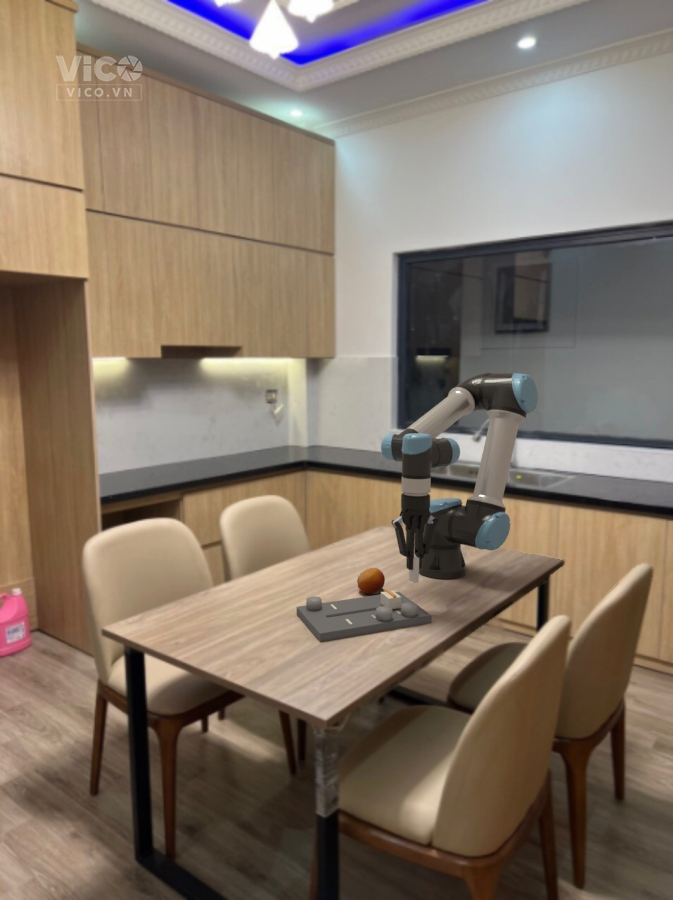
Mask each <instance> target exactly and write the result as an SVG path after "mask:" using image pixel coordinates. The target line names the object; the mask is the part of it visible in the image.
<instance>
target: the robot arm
mask: <svg viewBox="0 0 673 900" xmlns="http://www.w3.org/2000/svg"><path fill="white" fill-rule="evenodd" d="M538 399H539V394H538V388H537V384H536V382H535V380H534V378H532V376H530V375H529V374H527V373H518V372H514V373H513V372H510V373H509V372H507V373H506V372H505V373H503V372H499V373H496V372H484V373H479V374H476V375H473V376H470V377H469V378H466V379H465V380H464V381H461V382H460V383H458V384H457V385H455V386H454V387H452V388H451V389H450V391H448V395H447V397H445V398H443V400H441V401H440V402H439V403H437V404H436V405H435V406H434V407H432V408H431V409H430V410H429V411H427V412H425V413H424V415H422V416H420V417H419V418H418V419H417V420H416V421H414V422H413V423H411V425H409V426H408V427H406V428H405V429H404V430H402V432H400V433H399V434H397V433H391V434H386V435H385V436H384V437H383V438H382V441H381V445H380V450H381V455H382V456H383V458H384V459H386V460H390V461H394V462H395V463H396V462H400V463H401V492H402V493H401V494H400V497H401V498H400V507H401V511H400V513H399V516H398V517H397V518H396V519H393V520H391V522H390V523H391V525H392V526H393V528H394V531H395V536H396V541H397V546H398V551H399V554H400V555H402V556H404V557H406V566H405V567H406V569H407V570H408V581H410V582H412V583H419V581H420V580H419V579H420V578H419V577H420V575H421V576H424V577H427V578H430V579H438V580H440V579H443V580H449V579H457V578H460V577H463V576H465V575H466V573H467V564H466V562H465V558H464V555H463V552H462V549H461V548H462V547H461V545H463V546H466V547H467V546H468V547H471V548H477V549H478V550H487V551H495V550H498V549H499V548H500V547H501V546H502V545H503V544H505V542H506V540H507V539H508V536H509V533H510V530H511V523H510V522H511V519H510V516H509V515H508V513H506V509H507V507H506V506H505V503H504V502H503V499H504V493H505V490H506V484H507V480H508V476H509V472H510V466H511V463H512V457H513V453H514V448H515V444H516V438H517V435H518V431H519V426H520V424H522V423H524V422H525V421H526V420H527V419H526V418H527V414H531V413H532V412H534V411H535V410H536V408H537V406H538ZM477 411H486V415H487V416H488V418H489V423H488V428H487V433H486V437H485V441H484V445H483V449H482V455H481V459H480V464H479V469H478V472H477V476H476V480H475V481H476V482H475V487H474V490H473V494H472V495H471V496H469V497H467V498H466V502H465V505H463V502H462V501H463V500H462V499H461V498H459V497H443V498H435V499H431V494H429V493H431V491H432V490H431V489H432V487H431V481H432V480H431V479H432V478H431V477H432V476H431V473H432V469H435V468H442V467H449V466H452V465H454V464H455V463H457V461H459V458H460V455H461V448H460V445H459V443H458V441H456V440H455V439H453V438H450V437H441V438H437V437H439V436H440V435H442V434H443V432H446V431H447V429H449V428H450V427H451V426H452V425H454V423H456V422H457V421H459V419H461V418H462V417H463V416H468V415H471V414H473V412H477ZM403 524H404V526H405V527H404V528H405V532H406V533H404V529H403Z"/></svg>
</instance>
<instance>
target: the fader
mask: <svg viewBox="0 0 673 900" xmlns="http://www.w3.org/2000/svg"><path fill="white" fill-rule="evenodd" d="M395 592H396V591H394V590H390V589H388V588H385V591H380V594H381V604H382V605H384V606H387V607H390V608H392V609H397V608H401V596H399V595H398V594H397V593H395Z"/></svg>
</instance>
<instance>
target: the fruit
mask: <svg viewBox="0 0 673 900" xmlns="http://www.w3.org/2000/svg"><path fill="white" fill-rule="evenodd" d="M385 580H386V579H385V574H384V573H383V571H381V569H379V568H378V567H370V568H367V569H365V570H364V571H363V570H362V572H360V573H359V575H358V577H357V580H356V582H357V588H358V590H360V591H361V593H363V594H366V595H368V596H371V595H380V594H381V592H382V591H384V586H385Z"/></svg>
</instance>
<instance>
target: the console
mask: <svg viewBox="0 0 673 900" xmlns="http://www.w3.org/2000/svg"><path fill="white" fill-rule="evenodd" d="M394 592H395V593H397V594H398V595H399V596H401V608H397V609H392V608H390V607H387V606H384V605H382V604H381V593H380V594H373V595H368V596H362V597H360V596H359V597H354V598H348V599H340V600H334V601H328V602H327V601H326V602H323V599H322V598H321V597H320V596H309V597H306V601H305V602H306V605H300V606H296V615H297V616H298V617H299V618H300V621H302V622H303V623H304V625H305V626H306V627H307V628H308V629H309V631H311V633H312V634H313V635H314V637H315V638H316V639H317V640H318V642H325V641H330V640H331V641H332V640H337V639H342V638H343V639H344V638H347V637H348V638H350V637H355V636H361V635H367V634H371V633H373V634H374V633H379V632H383V631H385V632H386V631H389V630H396V629H401V628H407V627H413V626H419V625H424V624H432V614H430V613H429V612H428V611H426V610H425V609H424V608H423V607H420V606H419V605H418V604H417V603H415V602H414V601H413V600H411V599H410V598H409V597H407V596H405V595H404V594H403V593H402V592H400V591H394Z"/></svg>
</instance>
